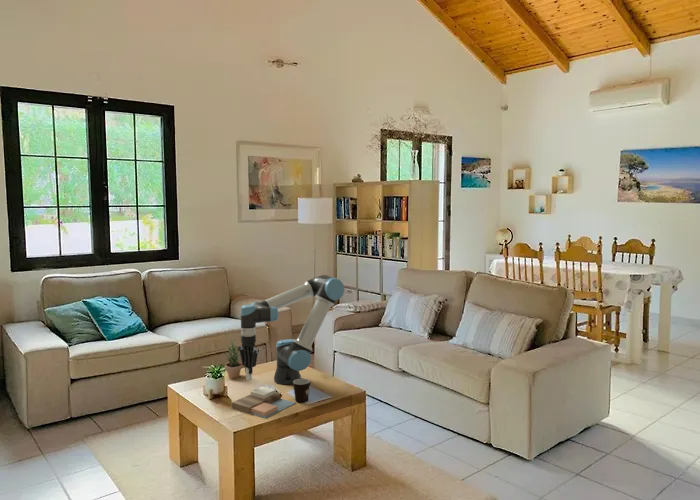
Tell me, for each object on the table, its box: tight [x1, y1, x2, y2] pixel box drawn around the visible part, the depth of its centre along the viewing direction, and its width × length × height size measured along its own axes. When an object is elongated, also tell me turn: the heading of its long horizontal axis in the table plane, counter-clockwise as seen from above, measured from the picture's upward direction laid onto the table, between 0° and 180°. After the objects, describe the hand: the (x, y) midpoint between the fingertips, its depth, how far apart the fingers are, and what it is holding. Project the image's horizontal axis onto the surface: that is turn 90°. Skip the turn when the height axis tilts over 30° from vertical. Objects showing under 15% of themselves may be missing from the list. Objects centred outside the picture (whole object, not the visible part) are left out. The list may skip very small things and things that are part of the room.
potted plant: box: [224, 334, 243, 379], centre depth 313 cm, size 10×10×25 cm
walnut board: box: [231, 392, 281, 414], centre depth 273 cm, size 22×12×3 cm, turn 146°
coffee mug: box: [293, 378, 311, 404], centre depth 277 cm, size 12×9×10 cm
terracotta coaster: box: [251, 402, 278, 416], centre depth 263 cm, size 9×9×2 cm
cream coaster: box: [250, 386, 277, 399], centre depth 278 cm, size 9×9×2 cm
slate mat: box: [250, 398, 297, 419], centre depth 267 cm, size 22×10×1 cm, turn 146°
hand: (248, 379), depth 282 cm, fingers closed
